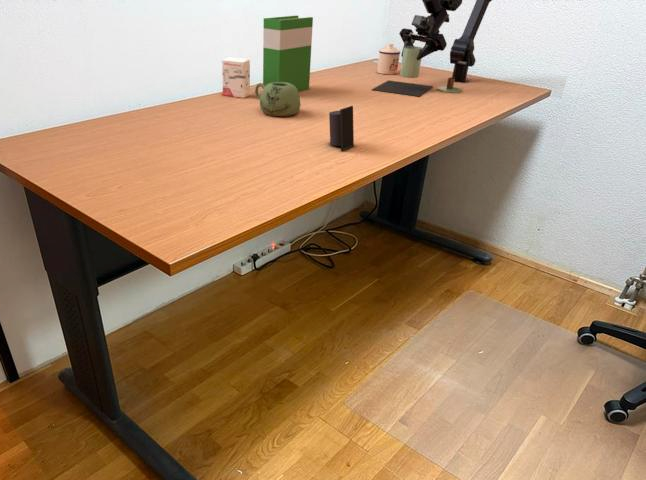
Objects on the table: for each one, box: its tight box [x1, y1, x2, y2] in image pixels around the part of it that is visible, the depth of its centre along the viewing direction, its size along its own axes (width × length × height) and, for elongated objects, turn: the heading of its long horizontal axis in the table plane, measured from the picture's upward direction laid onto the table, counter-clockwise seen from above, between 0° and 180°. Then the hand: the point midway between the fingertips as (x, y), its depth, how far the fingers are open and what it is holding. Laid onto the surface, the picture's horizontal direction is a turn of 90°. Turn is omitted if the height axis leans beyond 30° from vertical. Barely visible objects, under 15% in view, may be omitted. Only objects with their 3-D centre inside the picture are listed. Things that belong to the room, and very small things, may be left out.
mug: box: [254, 82, 301, 117], centre depth 156 cm, size 16×13×9 cm
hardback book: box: [262, 15, 314, 92], centre depth 178 cm, size 18×7×24 cm, turn 140°
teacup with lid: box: [376, 43, 401, 76], centre depth 217 cm, size 12×9×12 cm
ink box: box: [221, 56, 251, 99], centre depth 172 cm, size 9×5×12 cm, turn 68°
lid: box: [437, 77, 462, 94], centre depth 192 cm, size 9×9×4 cm
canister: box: [399, 45, 423, 79], centre depth 187 cm, size 7×7×10 cm
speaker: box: [328, 105, 355, 152], centre depth 130 cm, size 8×6×10 cm
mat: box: [371, 80, 433, 98], centre depth 193 cm, size 20×18×1 cm
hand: (409, 57), depth 185 cm, fingers closed on canister, 7 cm apart
